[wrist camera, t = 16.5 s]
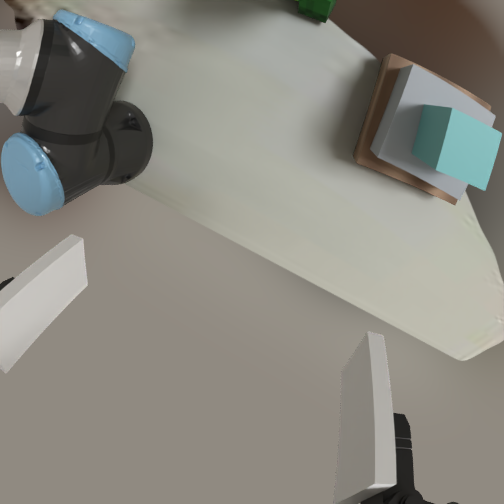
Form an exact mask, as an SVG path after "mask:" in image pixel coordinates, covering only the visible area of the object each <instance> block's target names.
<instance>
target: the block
mask: <svg viewBox="0 0 504 504" xmlns="http://www.w3.org/2000/svg"><path fill="white" fill-rule="evenodd" d="M501 135H502V133H500V132H499V131H497V130H495V129H493V128H491V127H490V126H488V125H486V124H484V123H482V122H480V121H478V120H476V119H474V118H472V117H470V116H468V115H466V114H464V113H462V112H460V111H458V110H456V109H454V108H450V107H443V106H435V105H426V104H424V106H423V111H422V115H421V119H420V123H419V127H418V131H417V135H416V139H415V142H414V146H413V150H412V153H411V154H413V155H414V156H416V157H417V158H419V159H420V160H422V161H423V162H425V163H426V164H428V165H429V166H430V167H432V168H433V169H435V170H437V171H439V172H442V173H444V174H447V175H449V176H452V177H454V178H456V179H459V180H461V181H464V182H466V183H468V184H471V185H473V186H475V187H477V188H480V189H482V190H484V191H485V189H486V186H487V183H488V180H489V177H490V174H491V171H492V168H493V165H494V161H495V157H496V154H497V151H498V147H499V143H500V140H501Z"/></svg>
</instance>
